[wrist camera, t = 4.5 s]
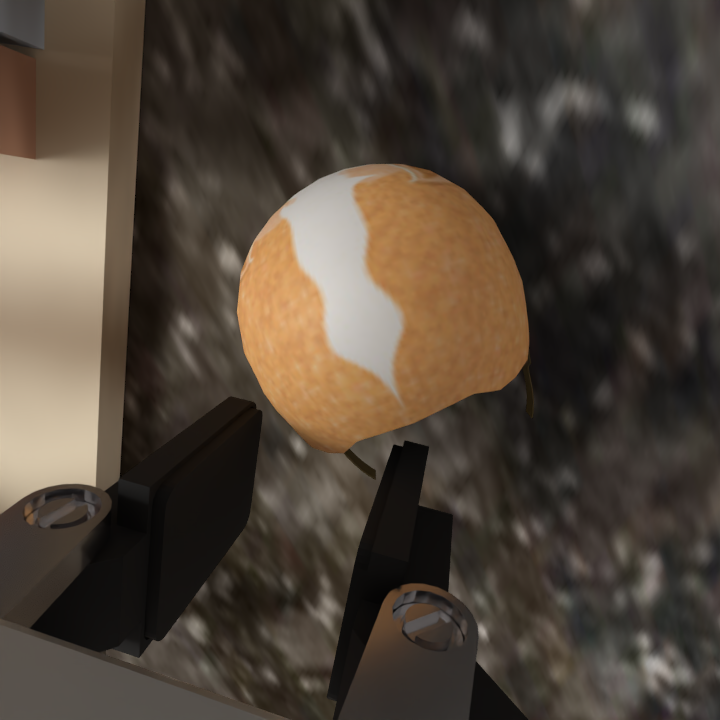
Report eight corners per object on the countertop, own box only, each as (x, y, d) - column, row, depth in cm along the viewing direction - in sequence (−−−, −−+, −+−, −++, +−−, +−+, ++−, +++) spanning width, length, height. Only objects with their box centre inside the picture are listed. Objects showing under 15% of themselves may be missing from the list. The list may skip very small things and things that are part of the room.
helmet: (503, 323, 17) (421, 71, 11) (609, 502, 11) (546, 191, 6) (340, 393, 17) (198, 189, 12) (372, 585, 12) (152, 374, 7)
